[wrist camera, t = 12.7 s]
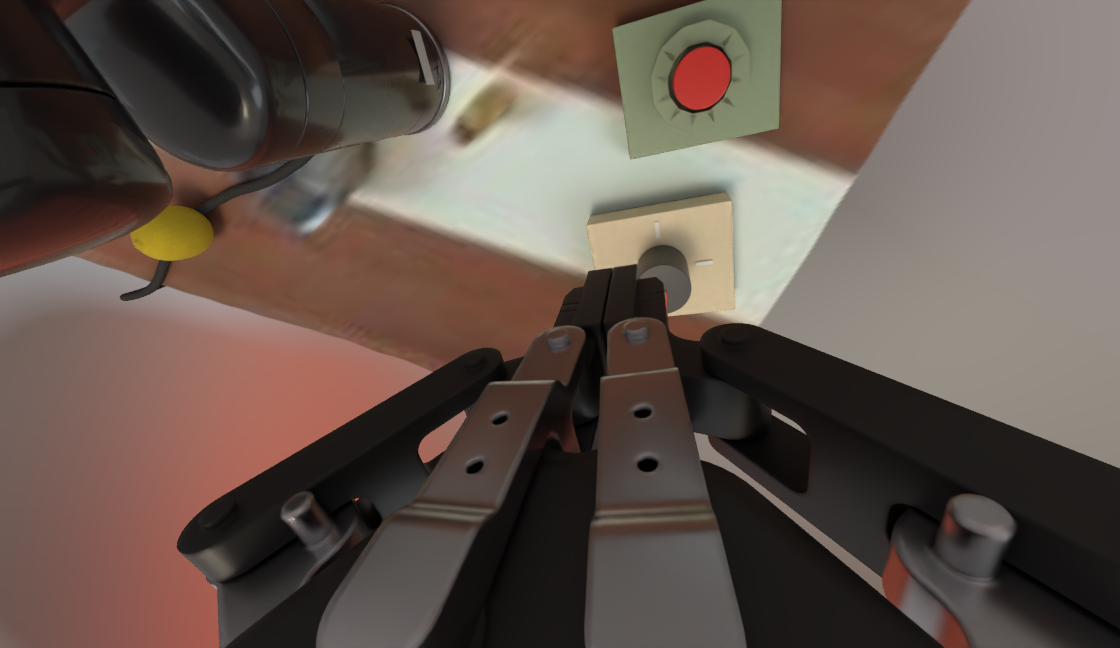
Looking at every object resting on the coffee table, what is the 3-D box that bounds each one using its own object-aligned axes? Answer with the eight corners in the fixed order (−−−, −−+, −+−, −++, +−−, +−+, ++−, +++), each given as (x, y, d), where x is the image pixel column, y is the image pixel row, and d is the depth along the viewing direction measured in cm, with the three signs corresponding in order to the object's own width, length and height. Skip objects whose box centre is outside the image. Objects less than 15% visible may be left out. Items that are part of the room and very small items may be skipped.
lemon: (189, 187, 46) (108, 206, 39) (235, 219, 47) (164, 242, 40) (184, 225, 48) (108, 249, 42) (227, 254, 49) (160, 281, 43)
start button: (674, 113, 30) (675, 115, 28) (669, 56, 28) (670, 55, 27) (727, 101, 29) (731, 102, 27) (725, 41, 27) (729, 39, 26)
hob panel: (608, 308, 43) (605, 323, 40) (590, 215, 39) (585, 225, 36) (729, 294, 40) (735, 310, 37) (726, 191, 35) (732, 200, 33)
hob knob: (634, 247, 36) (632, 268, 32) (686, 242, 35) (691, 263, 31) (639, 292, 38) (637, 317, 34) (688, 288, 37) (692, 314, 33)
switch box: (631, 155, 35) (629, 163, 32) (614, 31, 31) (609, 25, 28) (771, 125, 32) (785, 130, 29) (774, -17, 28) (790, -30, 25)
